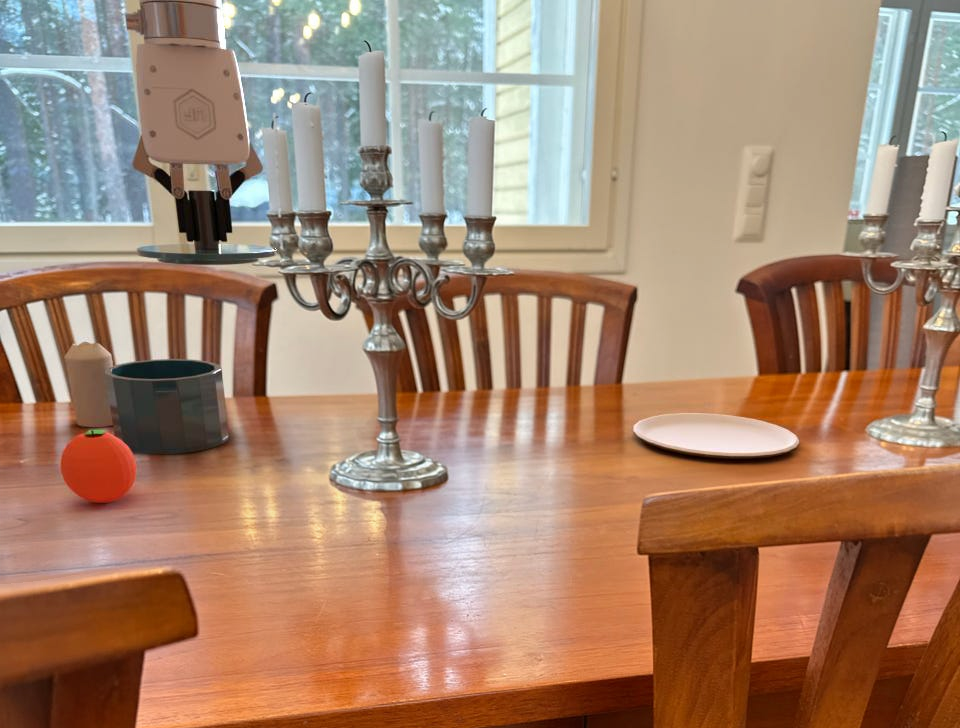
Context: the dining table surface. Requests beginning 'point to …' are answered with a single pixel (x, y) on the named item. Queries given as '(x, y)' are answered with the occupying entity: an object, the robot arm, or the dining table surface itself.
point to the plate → (716, 435)
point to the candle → (89, 383)
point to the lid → (205, 240)
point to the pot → (167, 405)
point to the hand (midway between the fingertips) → (206, 239)
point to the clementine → (98, 466)
